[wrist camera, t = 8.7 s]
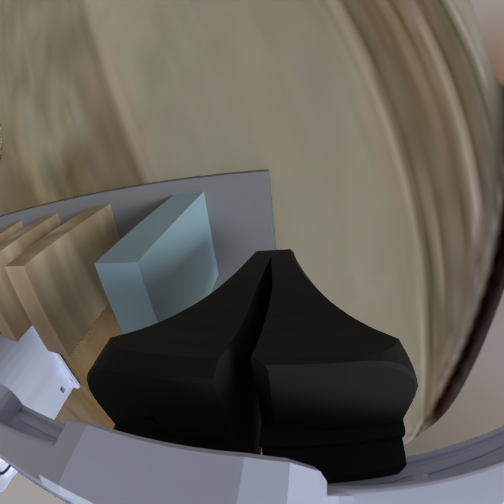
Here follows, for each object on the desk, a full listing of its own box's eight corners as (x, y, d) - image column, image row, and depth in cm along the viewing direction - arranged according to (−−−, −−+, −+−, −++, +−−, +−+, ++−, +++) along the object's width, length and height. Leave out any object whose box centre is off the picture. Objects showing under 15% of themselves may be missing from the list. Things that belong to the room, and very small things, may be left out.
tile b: (57, 213, 15) (-21, 267, 9) (79, 276, 17) (17, 342, 11) (43, 215, 16) (-32, 267, 9) (64, 276, 18) (4, 337, 11)
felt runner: (279, 294, 16) (279, 298, 16) (4, 288, 20) (2, 290, 20) (268, 169, 13) (268, 171, 13) (-21, 222, 17) (-24, 224, 17)
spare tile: (203, 191, 14) (137, 262, 8) (218, 274, 16) (178, 374, 10) (173, 194, 14) (94, 263, 8) (190, 275, 16) (140, 369, 10)
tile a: (110, 203, 15) (23, 265, 8) (131, 276, 17) (69, 355, 10) (89, 207, 15) (4, 266, 9) (111, 276, 17) (47, 350, 11)
